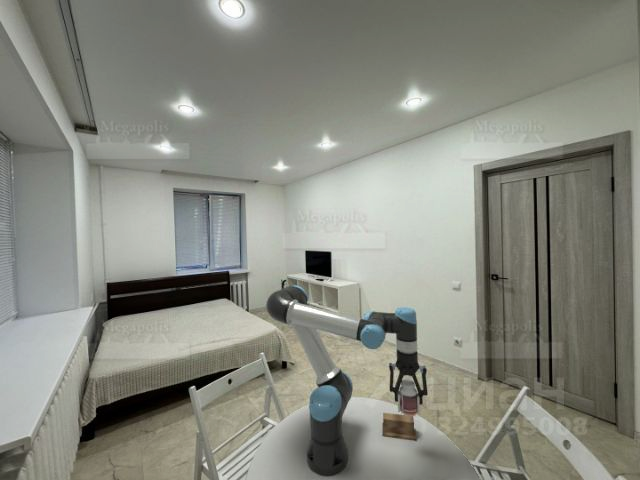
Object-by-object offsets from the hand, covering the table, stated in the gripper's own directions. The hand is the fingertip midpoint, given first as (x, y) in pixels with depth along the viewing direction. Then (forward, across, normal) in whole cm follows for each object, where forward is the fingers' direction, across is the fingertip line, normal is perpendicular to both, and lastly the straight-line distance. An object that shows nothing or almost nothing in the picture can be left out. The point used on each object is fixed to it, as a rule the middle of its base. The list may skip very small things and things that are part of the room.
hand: (408, 410), depth 100 cm
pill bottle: (+1, 0, 0) cm, 1 cm away
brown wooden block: (+14, -4, +8) cm, 17 cm away
